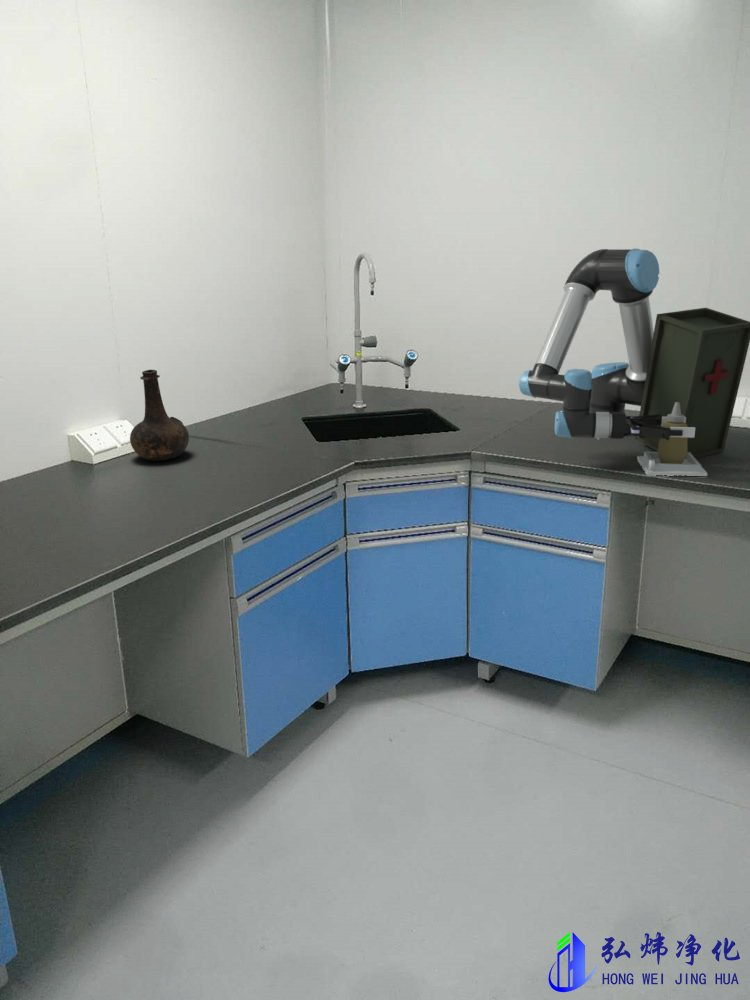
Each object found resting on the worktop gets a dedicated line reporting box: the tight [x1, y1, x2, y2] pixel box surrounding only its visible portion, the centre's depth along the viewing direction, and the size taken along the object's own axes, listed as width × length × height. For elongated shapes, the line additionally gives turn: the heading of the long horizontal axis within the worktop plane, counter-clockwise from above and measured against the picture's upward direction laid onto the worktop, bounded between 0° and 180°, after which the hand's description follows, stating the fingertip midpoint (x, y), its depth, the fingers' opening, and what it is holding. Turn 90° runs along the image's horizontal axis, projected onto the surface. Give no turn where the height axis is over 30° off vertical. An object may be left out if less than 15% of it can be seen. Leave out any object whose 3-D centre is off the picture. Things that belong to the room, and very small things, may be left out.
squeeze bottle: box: [656, 402, 687, 464], centre depth 215 cm, size 8×8×18 cm
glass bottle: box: [129, 369, 190, 462], centre depth 237 cm, size 18×18×28 cm
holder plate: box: [636, 451, 708, 477], centre depth 218 cm, size 16×16×4 cm
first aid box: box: [634, 307, 750, 458], centre depth 226 cm, size 18×18×40 cm
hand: (689, 427), depth 213 cm, fingers open, 12 cm apart
